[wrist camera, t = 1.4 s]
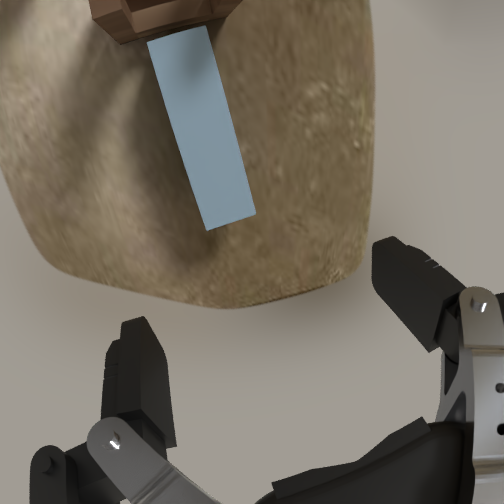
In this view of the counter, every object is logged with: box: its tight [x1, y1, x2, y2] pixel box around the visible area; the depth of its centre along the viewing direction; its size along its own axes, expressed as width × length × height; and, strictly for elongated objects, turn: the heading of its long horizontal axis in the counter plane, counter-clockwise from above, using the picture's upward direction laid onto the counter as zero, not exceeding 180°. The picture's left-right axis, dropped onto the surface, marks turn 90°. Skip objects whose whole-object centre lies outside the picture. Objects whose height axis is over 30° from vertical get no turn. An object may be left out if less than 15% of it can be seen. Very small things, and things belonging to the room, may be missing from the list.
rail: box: [147, 25, 256, 231], centre depth 17 cm, size 11×3×4 cm, turn 14°
